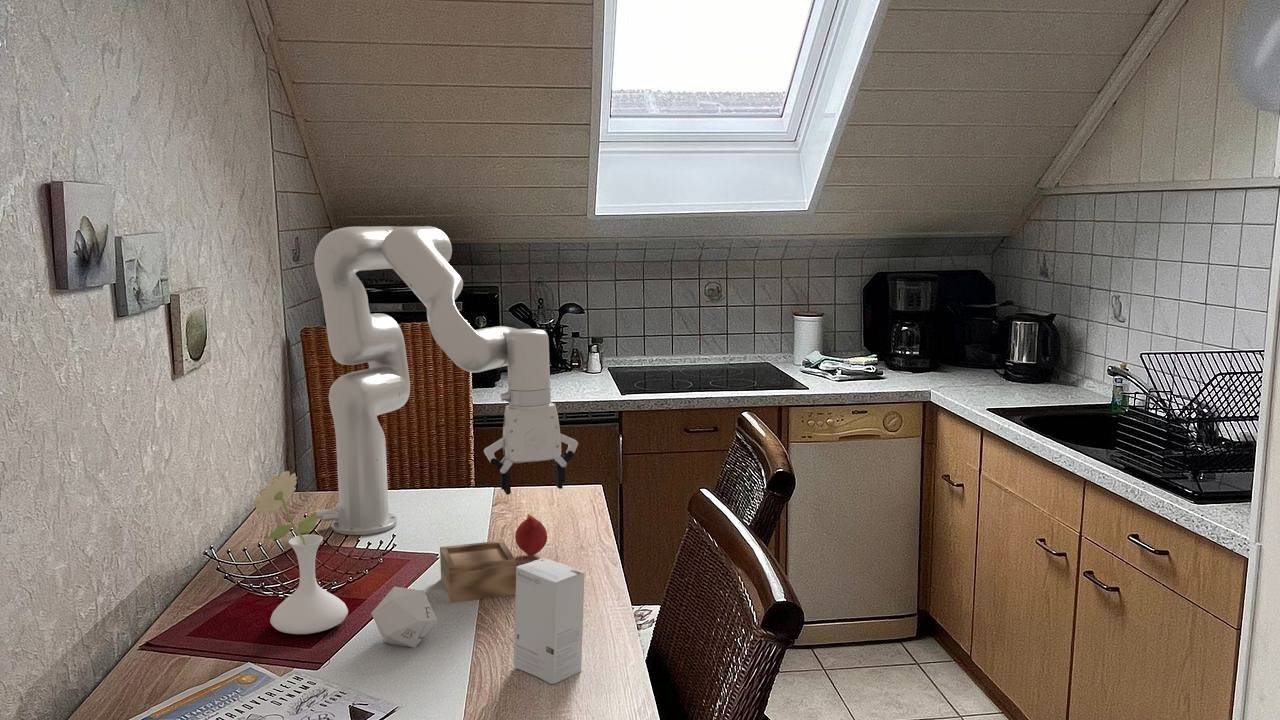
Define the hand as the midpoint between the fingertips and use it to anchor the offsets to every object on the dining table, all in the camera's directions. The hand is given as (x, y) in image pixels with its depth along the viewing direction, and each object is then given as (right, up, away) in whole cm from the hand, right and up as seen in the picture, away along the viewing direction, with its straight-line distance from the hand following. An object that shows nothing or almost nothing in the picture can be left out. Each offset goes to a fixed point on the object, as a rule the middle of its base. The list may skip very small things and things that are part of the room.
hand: (533, 489), depth 182 cm
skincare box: (+7, -20, -43) cm, 48 cm away
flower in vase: (-32, -17, -29) cm, 47 cm away
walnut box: (-8, -15, -13) cm, 21 cm away
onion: (-1, -13, +2) cm, 13 cm away
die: (-15, -18, -34) cm, 42 cm away
